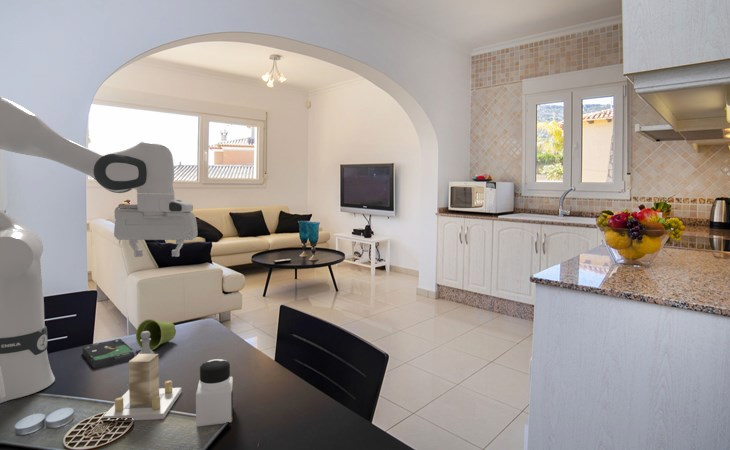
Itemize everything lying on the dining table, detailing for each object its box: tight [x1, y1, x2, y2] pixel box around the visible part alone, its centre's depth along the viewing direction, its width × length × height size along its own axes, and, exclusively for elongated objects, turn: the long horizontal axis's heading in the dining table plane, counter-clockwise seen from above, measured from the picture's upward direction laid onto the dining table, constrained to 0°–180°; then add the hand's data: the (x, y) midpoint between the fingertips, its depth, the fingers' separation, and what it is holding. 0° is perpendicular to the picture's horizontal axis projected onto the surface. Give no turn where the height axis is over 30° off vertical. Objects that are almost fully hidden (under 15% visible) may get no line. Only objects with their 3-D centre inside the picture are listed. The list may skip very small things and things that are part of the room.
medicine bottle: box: [195, 358, 234, 428], centre depth 89 cm, size 7×7×12 cm
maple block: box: [128, 353, 160, 406], centre depth 93 cm, size 4×4×10 cm
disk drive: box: [82, 338, 135, 369], centre depth 122 cm, size 10×3×15 cm
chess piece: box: [136, 331, 155, 356], centre depth 121 cm, size 5×5×8 cm
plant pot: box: [135, 318, 177, 351], centre depth 131 cm, size 9×9×9 cm
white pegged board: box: [102, 380, 182, 421], centre depth 93 cm, size 12×12×4 cm
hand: (157, 256), depth 111 cm, fingers open, 8 cm apart
